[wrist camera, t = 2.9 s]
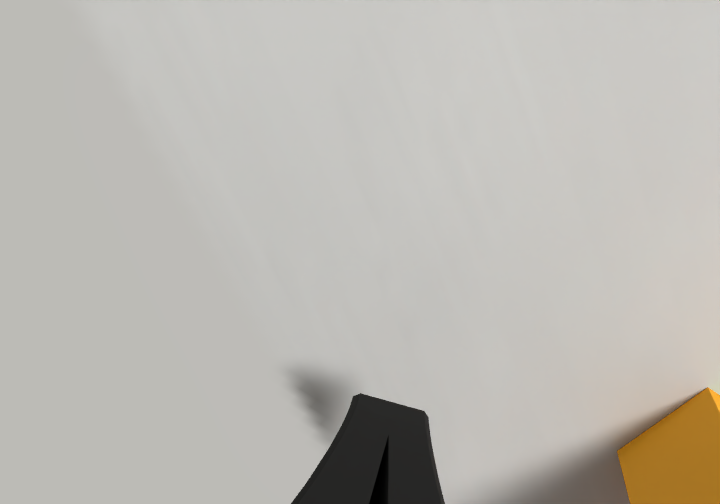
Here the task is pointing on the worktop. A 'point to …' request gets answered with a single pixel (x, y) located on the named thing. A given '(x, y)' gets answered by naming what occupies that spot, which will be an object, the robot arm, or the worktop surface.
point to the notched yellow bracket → (677, 456)
